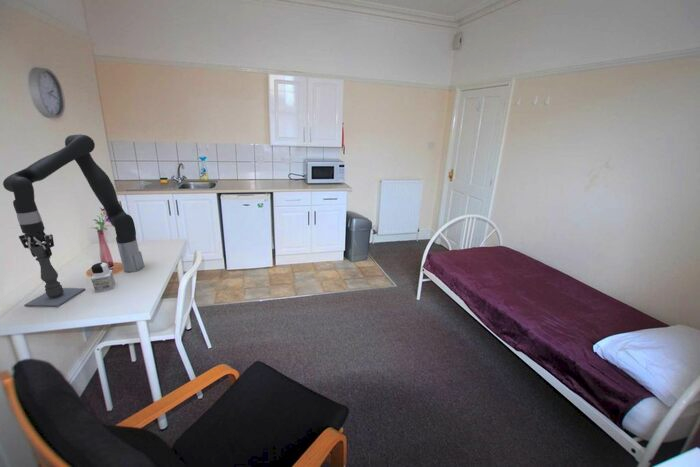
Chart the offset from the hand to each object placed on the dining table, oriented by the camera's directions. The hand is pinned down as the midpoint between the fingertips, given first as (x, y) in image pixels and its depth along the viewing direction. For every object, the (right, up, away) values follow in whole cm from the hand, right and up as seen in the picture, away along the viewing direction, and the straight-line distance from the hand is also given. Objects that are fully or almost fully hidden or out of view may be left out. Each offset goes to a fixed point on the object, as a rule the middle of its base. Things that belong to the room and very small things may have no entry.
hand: (42, 256), depth 153 cm
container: (+17, -17, +17) cm, 29 cm away
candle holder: (0, -19, +7) cm, 20 cm away
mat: (0, -21, +7) cm, 22 cm away
